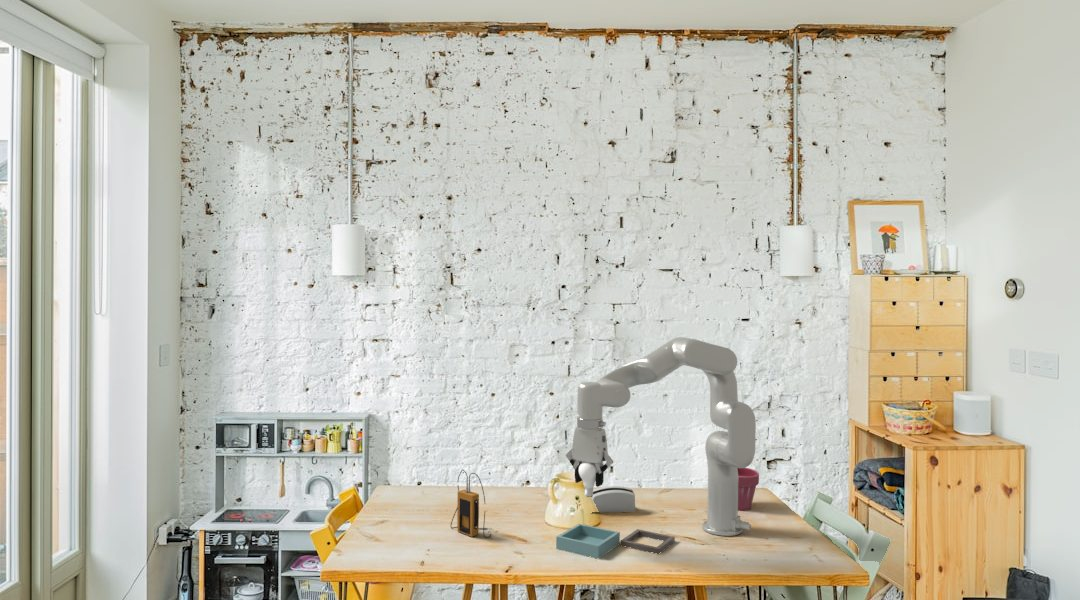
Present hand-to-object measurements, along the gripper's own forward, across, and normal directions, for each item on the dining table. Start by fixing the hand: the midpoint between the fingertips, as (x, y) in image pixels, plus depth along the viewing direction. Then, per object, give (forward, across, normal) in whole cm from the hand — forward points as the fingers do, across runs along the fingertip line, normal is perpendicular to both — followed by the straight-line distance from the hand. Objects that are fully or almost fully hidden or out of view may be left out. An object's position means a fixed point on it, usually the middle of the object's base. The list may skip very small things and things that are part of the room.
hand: (588, 483), depth 212 cm
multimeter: (+19, +36, +8) cm, 42 cm away
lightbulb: (+4, 0, 0) cm, 4 cm away
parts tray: (+19, 0, 0) cm, 19 cm away
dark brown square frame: (+19, -14, -12) cm, 27 cm away
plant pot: (+19, -26, -64) cm, 72 cm away
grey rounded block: (+19, +9, -34) cm, 41 cm away
